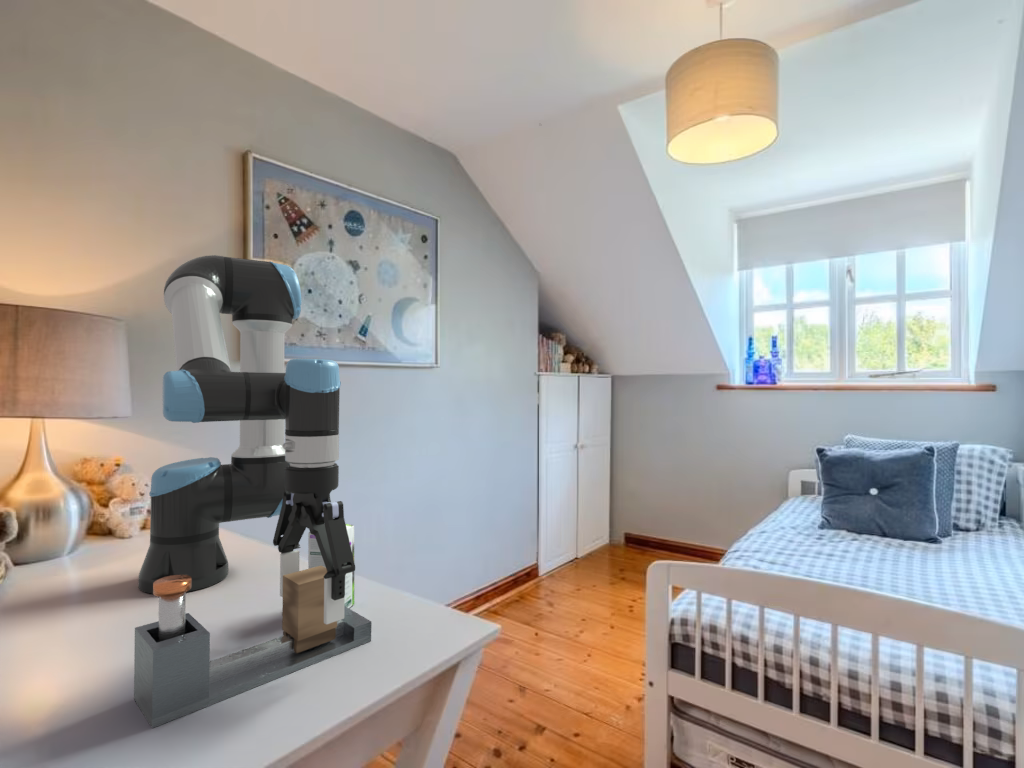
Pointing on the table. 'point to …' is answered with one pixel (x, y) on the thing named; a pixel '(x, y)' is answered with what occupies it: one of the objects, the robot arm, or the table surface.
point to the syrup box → (317, 560)
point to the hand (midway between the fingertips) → (310, 606)
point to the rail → (220, 666)
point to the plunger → (172, 604)
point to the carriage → (306, 609)
